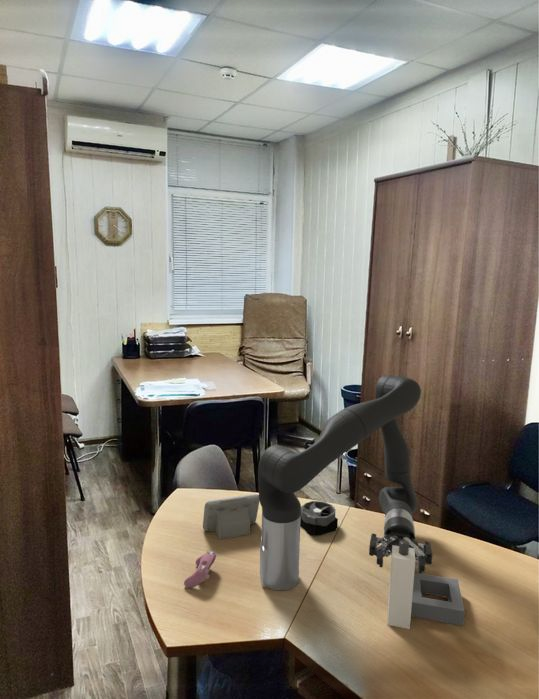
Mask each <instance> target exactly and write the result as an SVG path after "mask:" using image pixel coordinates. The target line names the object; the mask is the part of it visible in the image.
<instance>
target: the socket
mask: <svg viewBox="0 0 539 699" xmlns="http://www.w3.org/2000/svg"><path fill="white" fill-rule="evenodd" d="M461 592H462V591H461V588H460V584H459V579H458V578H450V577H444V576H438V575H431V574H424V573H422V574H420V573H418V572H414V583H413V595H412V608H411V618H412V617H413V618H418V619H423V620H429V621H434V622H441V623H446V624H452V625H455V626H456V625H457V626H458V625H459V626H462V627H463V626H464V620H465V606H464V601H463V598H462V593H461ZM422 594H425V595H431V596H436V597H443V598H447V600H443V599H442V600H440V599H435V598H428V597H423V595H422Z"/></svg>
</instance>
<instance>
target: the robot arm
mask: <svg viewBox="0 0 539 699" xmlns="http://www.w3.org/2000/svg"><path fill="white" fill-rule="evenodd" d="M421 394H422V389H421V386H420V385H419V383H418V382H417V381H416V380H414V379H412V378H409V377H405V376H397V375H392V374H391V375H389V374H385V375H383V376H381V377H380V378H379V379H378V380H377V382H376V384H375V388H374V397H375V399H372V400H368V401H363V402H360V403H357V404H352V405H350V406H347V407H345V408H343V409H341V410H340V411H338V412H336V413H335V414H333V415H331V417H329V418H328V419H327V420H326V421H325V423H324V425H323V427H322V429H321V431H320V434H319V437H318V439H317V440H316V442H314V444H312V445H311V446H309V447H308V448H306V449H304V450H302V451H300V452H296V451H293V450H291V449H289V448H287V447H285V446H282V445H280V444H273V445H270V446H269V447H268V448H266V449H265V450H264V451H263V453H262V455H261V456H260V459H259V463H258V470H257V476H258V477H257V480H258V482H257V483H258V495H259V505H260V507H261V537H260V538H259V539H260V544H259V549H260V550H259V551H260V552H259V576H260V580H261V587H262V588H268V589H271V590H273V591H274V590H275V591H286V590H290V589H292V588H294V587H295V586H297V584H298V583H299V579H300V578H299V575H300V548H301V547H300V546H301V545H300V544H301V543H300V542H301V526H300V521H301V506H302V505H301V502H300V499H298V496H296V494H295V493H297V492H299V491H300V490H302V489H303V488H305V487H306V486H307V485H308V484H309V483H310V482H311V481H313V479H315V478H316V477H317V476H318V475H319V474H320V473H321V472H322V471H324V469H325V468H327V467H328V466H329V465H331V464H332V463H333V462H335V461H336V460H337V459H339V458H340V457H341V456H342V455H343V454H345V453H346V452H348V451H350V450H351V449H352V448H354V447H356V446H357V445H358V444H360V443H361V442H362V441H365V439H366V438H368V437H369V436H371V435H372V434H373V433H375V432H376V431H378V430H379V429H380V430H381V436H382V442H383V453H384V476H385V479H386V480H388V481H390V482H392V483H396V484H399V485H400V486H385V487H383V488H382V489H381V490H380V491H379V493H378V494H379V496H378V499H379V504H380V507H381V510H382V512H383V513H384V514H385V518H384V522H383V523H384V525H383V536H382V537H377V533H373V532H372V533H371V535H370V541H369V549H368V555H369V556H370V557H374V556H375V557H376V561H375V562H376V565H378V566H379V568H383V566H384V565H383V564H384V562H383V561H384V558H388V557H390V556H392V545H394V546H399V541H400V540H406V541H408V542H409V548H414V551H415V563H417V571H418V572H417V573H420V574H423V572H424V573H425V571H426V565H430V566H431V565H432V564H433V556H434V555H433V554H434V553H433V550H432V546H431V543H430V541H429V540H424V543H420V542H418V541H417V540H416V533H415V532H416V531H415V522H414V520H413V513H414V512H416V509H417V508H418V498H417V494H416V491H415V488H414V485H413V481H412V476H411V456H410V448H409V446H408V443H407V441H406V439H405V436H404V435H403V433H402V430H401V428H400V425H399V423H398V420H397V418H399V417H401V416H403V415H404V414H407V413H408V412H410V411H411V410H412V409H414V408H415V407H416V405H418V403H419V401H420V399H421V396H422V395H421Z"/></svg>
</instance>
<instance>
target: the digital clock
mask: <svg viewBox="0 0 539 699" xmlns="http://www.w3.org/2000/svg"><path fill="white" fill-rule="evenodd" d="M259 505H260V501H259V494H257V493H251V494H249V493H248V494H243V495H242V494H241V495H236V496H229V497H222V498H215V499H209V500H206V502H205V503H204V510H203V520H202V529H203V530H204V531H205V532H213V531H215V532H216V535H217V537H218V539H219V540H224V539H228V538H229V539H230V538H235V537H241V536H247V535H250V534H251V525H253V524H255V523H256V522H257V519H258V518H257V517H258V511H259Z"/></svg>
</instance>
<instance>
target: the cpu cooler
mask: <svg viewBox="0 0 539 699" xmlns="http://www.w3.org/2000/svg"><path fill="white" fill-rule="evenodd" d="M338 520H339V519H338V518H337V517H336V508H335V506H334V505H332V504H330V503H328V502H326V501H318V500H310V501H308V502H306V503H304V504H303V505H301V521H300V528H301V529H303V530H304V531H305V532H306V533H307V534H308V535H309V536H311V537H312V536H313V537H319V536H323V535H326V534H329V533H333V532H337V529H338V522H339V521H338Z"/></svg>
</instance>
